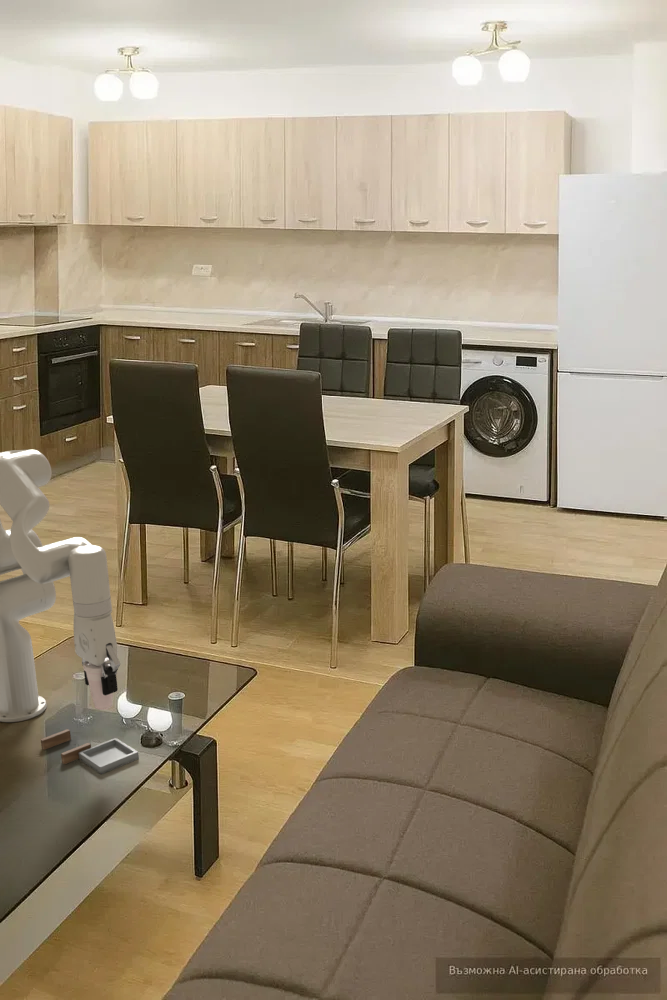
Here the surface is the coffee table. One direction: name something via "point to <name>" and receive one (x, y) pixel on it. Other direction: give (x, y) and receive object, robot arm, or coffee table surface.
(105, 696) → the smoothie
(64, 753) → the brown parallel rails
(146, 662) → the coffee table surface
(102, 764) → the tray
